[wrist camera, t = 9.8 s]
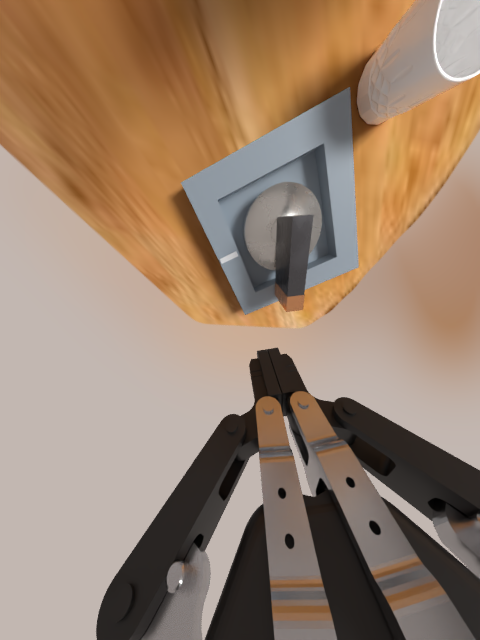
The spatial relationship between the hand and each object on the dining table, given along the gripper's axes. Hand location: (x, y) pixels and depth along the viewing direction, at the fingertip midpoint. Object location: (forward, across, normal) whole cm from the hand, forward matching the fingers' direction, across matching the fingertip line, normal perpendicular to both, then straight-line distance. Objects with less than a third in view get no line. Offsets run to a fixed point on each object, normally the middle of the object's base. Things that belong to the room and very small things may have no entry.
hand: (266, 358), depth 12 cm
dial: (+22, -7, -4) cm, 24 cm away
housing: (+23, -7, -6) cm, 25 cm away
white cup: (+23, -21, -20) cm, 37 cm away
